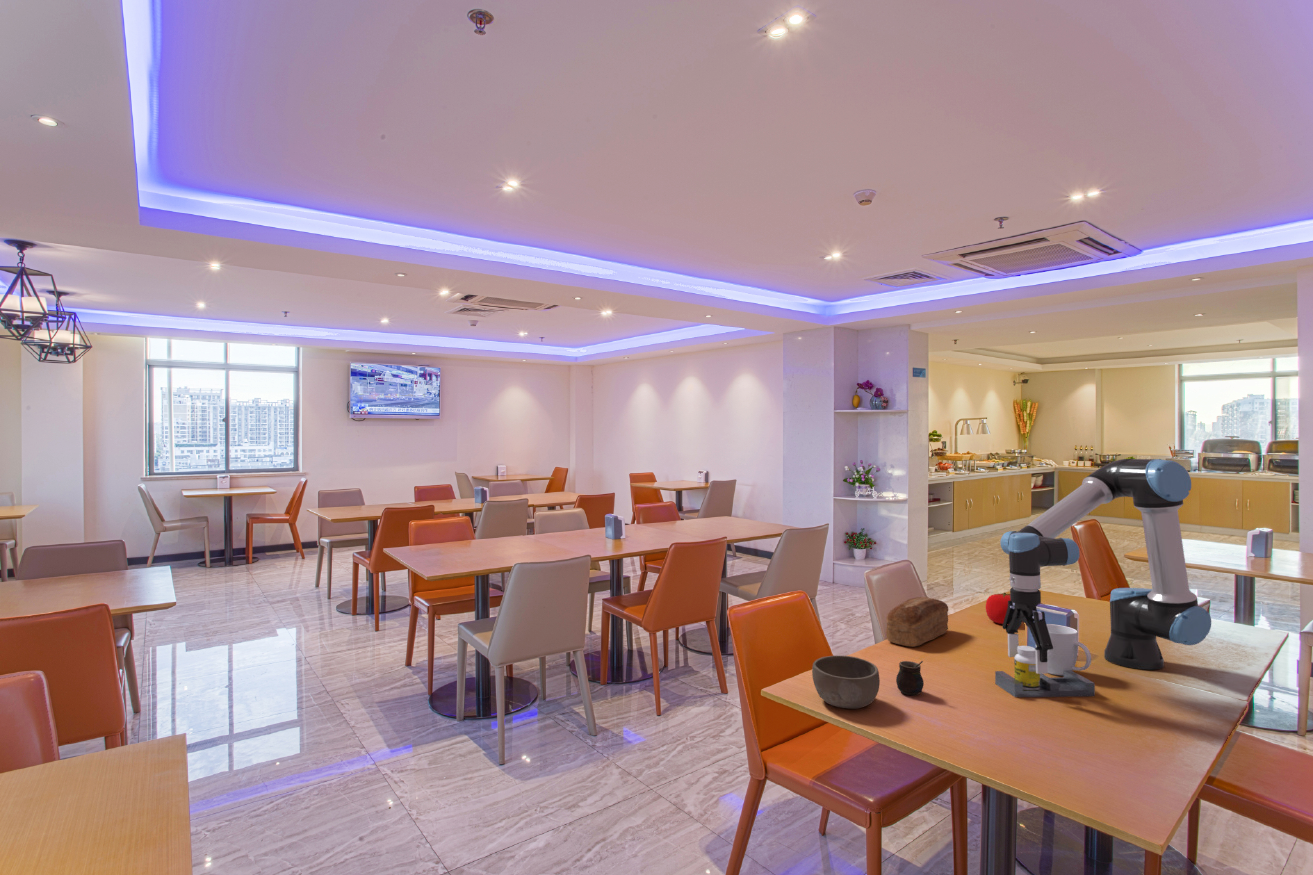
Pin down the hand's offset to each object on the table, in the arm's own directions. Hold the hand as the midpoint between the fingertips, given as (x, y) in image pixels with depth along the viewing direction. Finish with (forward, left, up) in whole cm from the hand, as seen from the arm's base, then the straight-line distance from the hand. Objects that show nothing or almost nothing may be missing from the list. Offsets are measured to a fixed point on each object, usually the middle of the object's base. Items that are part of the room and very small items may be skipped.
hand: (1027, 664), depth 184 cm
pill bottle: (0, +1, -6) cm, 7 cm away
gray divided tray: (-5, 0, -7) cm, 8 cm away
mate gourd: (+33, +1, -7) cm, 34 cm away
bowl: (+53, +7, -7) cm, 54 cm away
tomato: (-31, -67, -7) cm, 74 cm away
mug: (-18, -13, -7) cm, 23 cm away
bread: (+10, -50, -7) cm, 52 cm away
